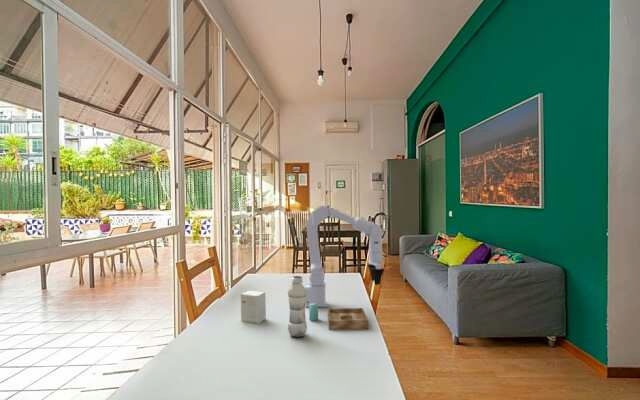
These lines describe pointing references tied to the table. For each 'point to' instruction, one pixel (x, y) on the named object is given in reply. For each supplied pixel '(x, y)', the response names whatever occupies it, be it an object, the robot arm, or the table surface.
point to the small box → (253, 306)
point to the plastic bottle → (297, 308)
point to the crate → (347, 318)
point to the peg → (313, 312)
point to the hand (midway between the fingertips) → (375, 282)
